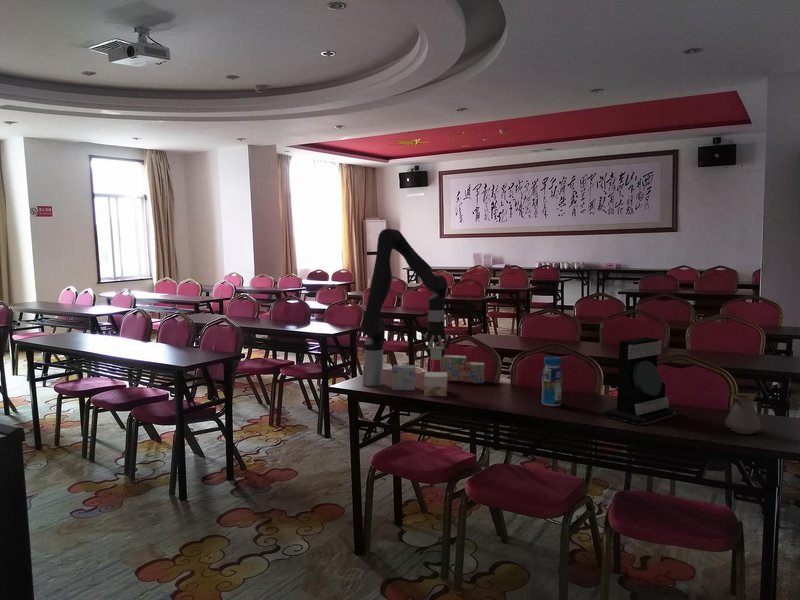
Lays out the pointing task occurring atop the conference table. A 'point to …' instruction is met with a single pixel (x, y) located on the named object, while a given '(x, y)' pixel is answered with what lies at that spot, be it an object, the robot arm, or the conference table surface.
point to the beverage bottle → (552, 381)
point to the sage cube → (436, 353)
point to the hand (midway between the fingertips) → (436, 357)
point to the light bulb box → (403, 377)
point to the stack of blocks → (462, 369)
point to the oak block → (435, 391)
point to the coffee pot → (743, 415)
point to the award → (640, 383)
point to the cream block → (435, 379)
